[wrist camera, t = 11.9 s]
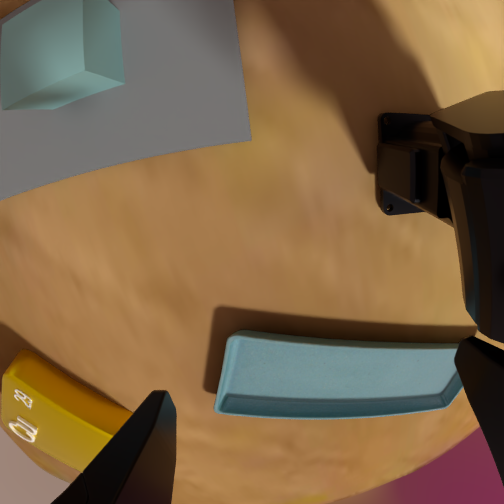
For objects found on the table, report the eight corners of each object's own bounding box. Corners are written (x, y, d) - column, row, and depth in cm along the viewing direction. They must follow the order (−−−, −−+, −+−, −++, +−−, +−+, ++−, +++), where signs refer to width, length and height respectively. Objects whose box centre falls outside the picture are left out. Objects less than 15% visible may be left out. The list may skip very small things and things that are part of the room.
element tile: (108, 457, 30) (101, 485, 26) (12, 401, 26) (-1, 426, 22) (150, 417, 26) (142, 455, 22) (22, 339, 22) (-1, 370, 17)
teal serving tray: (213, 396, 25) (212, 418, 22) (228, 316, 21) (228, 337, 19) (438, 394, 28) (447, 408, 26) (477, 333, 25) (490, 347, 22)
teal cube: (119, 10, 12) (83, -21, 7) (125, 83, 14) (85, 70, 9) (49, 40, 12) (2, 24, 7) (53, 109, 14) (1, 110, 9)
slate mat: (224, -56, 11) (223, -63, 10) (250, 140, 16) (251, 140, 15) (-6, 31, 11) (-14, 29, 10) (6, 197, 16) (-2, 201, 15)
